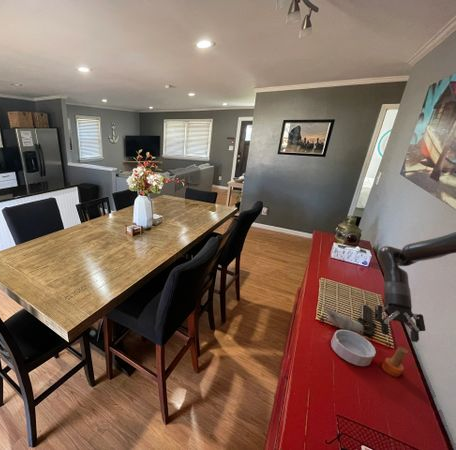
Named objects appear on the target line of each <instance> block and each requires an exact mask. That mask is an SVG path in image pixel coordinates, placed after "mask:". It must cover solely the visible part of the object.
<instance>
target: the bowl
mask: <svg viewBox="0 0 456 450" xmlns="http://www.w3.org/2000/svg"><path fill="white" fill-rule="evenodd" d="M330 346H331V348H332V350H333V352H335V353H336V354H337V356H339V357H340V358H341V359H342V360H345V361H346V362H348V363H350V364H353V365H355V366H359V367H367V366H370V365H371V363H372V361H373V360H374V358H375V356H376V354H377V352H376V348H375V346H374V345H373V344H372V342H370V341H369V340H368V339H366V337H364V336H363V335H360V334H358V333H357V332H355V331H353V330H352V331H351V330H344V329H337V330H336V331H335V332H334V334H333V335H332V339H331V340H330Z"/></svg>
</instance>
